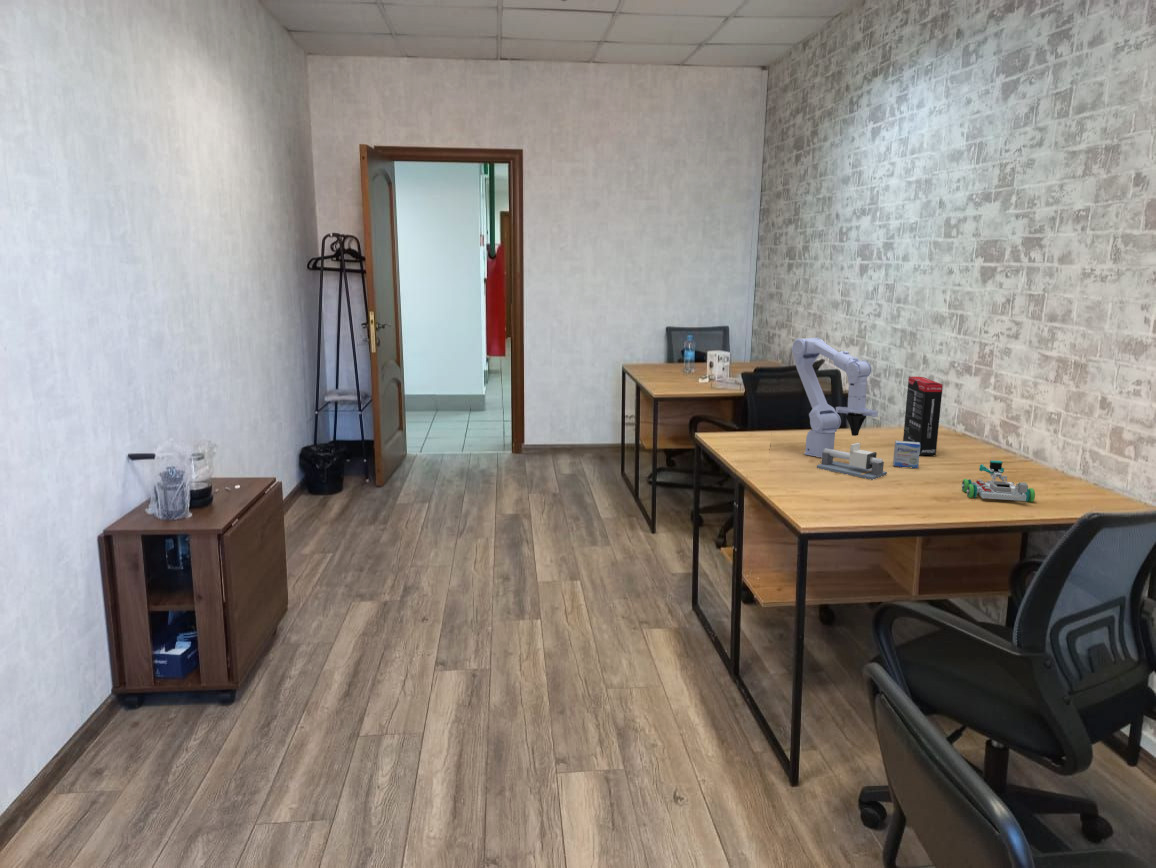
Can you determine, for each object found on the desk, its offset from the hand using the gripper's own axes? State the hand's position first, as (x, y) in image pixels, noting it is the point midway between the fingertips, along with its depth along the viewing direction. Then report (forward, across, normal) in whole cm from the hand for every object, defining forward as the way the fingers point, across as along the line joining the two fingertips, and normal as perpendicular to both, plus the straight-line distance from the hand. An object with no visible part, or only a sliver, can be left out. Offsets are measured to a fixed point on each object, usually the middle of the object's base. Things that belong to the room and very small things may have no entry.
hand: (854, 435), depth 274 cm
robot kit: (+13, +45, +3) cm, 47 cm away
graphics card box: (+10, +5, +38) cm, 40 cm away
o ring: (+9, +11, -9) cm, 17 cm away
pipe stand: (+11, +4, -9) cm, 15 cm away
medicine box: (+11, +13, +12) cm, 21 cm away
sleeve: (+8, +8, -9) cm, 14 cm away
